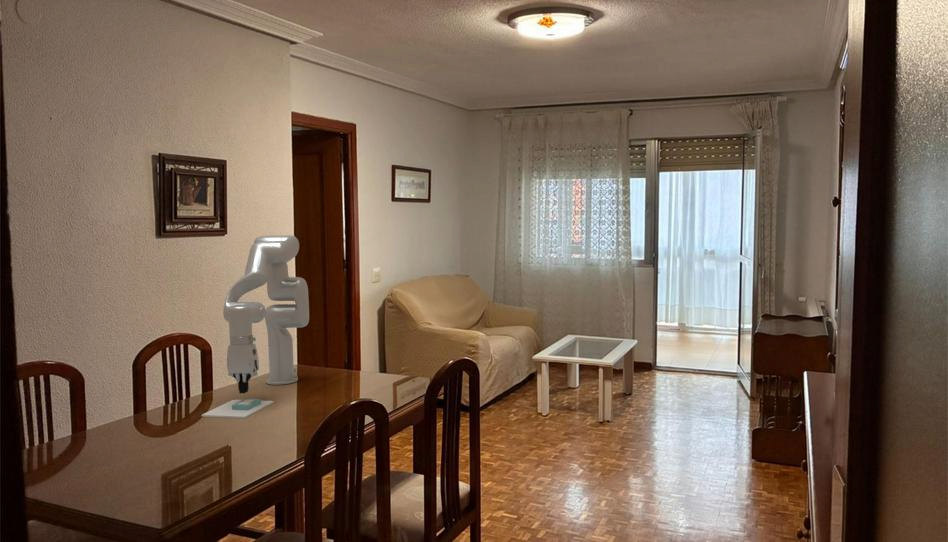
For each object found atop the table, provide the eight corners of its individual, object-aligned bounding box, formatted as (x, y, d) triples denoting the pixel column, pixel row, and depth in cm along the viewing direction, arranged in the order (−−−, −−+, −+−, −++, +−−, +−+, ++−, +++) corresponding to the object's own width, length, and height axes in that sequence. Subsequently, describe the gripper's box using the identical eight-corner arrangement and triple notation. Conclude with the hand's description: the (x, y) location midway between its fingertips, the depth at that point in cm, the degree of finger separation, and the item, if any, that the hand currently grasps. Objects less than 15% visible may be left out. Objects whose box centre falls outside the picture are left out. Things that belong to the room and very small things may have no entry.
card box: (245, 398, 251) (260, 398, 250) (245, 402, 251) (261, 403, 250) (231, 404, 242) (247, 405, 241) (232, 409, 243) (248, 410, 241)
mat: (233, 401, 256) (233, 399, 256) (273, 402, 253) (273, 401, 253) (201, 416, 237) (201, 414, 237) (244, 418, 234) (244, 416, 234)
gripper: (266, 339, 247) (268, 390, 249) (227, 338, 250) (230, 389, 252) (255, 342, 240) (257, 396, 241) (215, 342, 243) (218, 394, 244)
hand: (243, 392), depth 246 cm, fingers closed
